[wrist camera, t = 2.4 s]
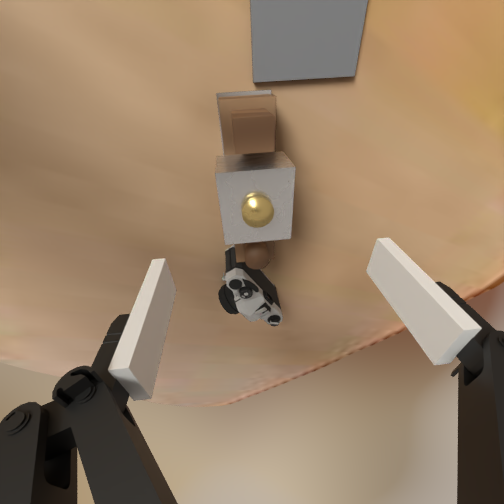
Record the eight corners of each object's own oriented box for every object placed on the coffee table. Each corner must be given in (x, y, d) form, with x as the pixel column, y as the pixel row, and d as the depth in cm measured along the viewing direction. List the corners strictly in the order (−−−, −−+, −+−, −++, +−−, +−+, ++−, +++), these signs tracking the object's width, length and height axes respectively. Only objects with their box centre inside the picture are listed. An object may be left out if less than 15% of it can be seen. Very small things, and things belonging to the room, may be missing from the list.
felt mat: (253, 82, 23) (253, 82, 22) (247, -67, 17) (248, -71, 17) (351, 76, 23) (354, 76, 23) (376, -70, 18) (380, -75, 17)
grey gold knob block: (225, 219, 27) (225, 249, 22) (216, 156, 22) (214, 176, 18) (281, 214, 27) (292, 243, 22) (283, 151, 23) (298, 170, 18)
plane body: (270, 241, 35) (283, 287, 27) (234, 244, 34) (236, 292, 27) (270, 89, 23) (292, 96, 16) (216, 93, 23) (212, 101, 16)
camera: (196, 264, 36) (193, 314, 29) (236, 238, 34) (242, 285, 27) (246, 301, 44) (252, 347, 37) (280, 282, 42) (294, 327, 35)
